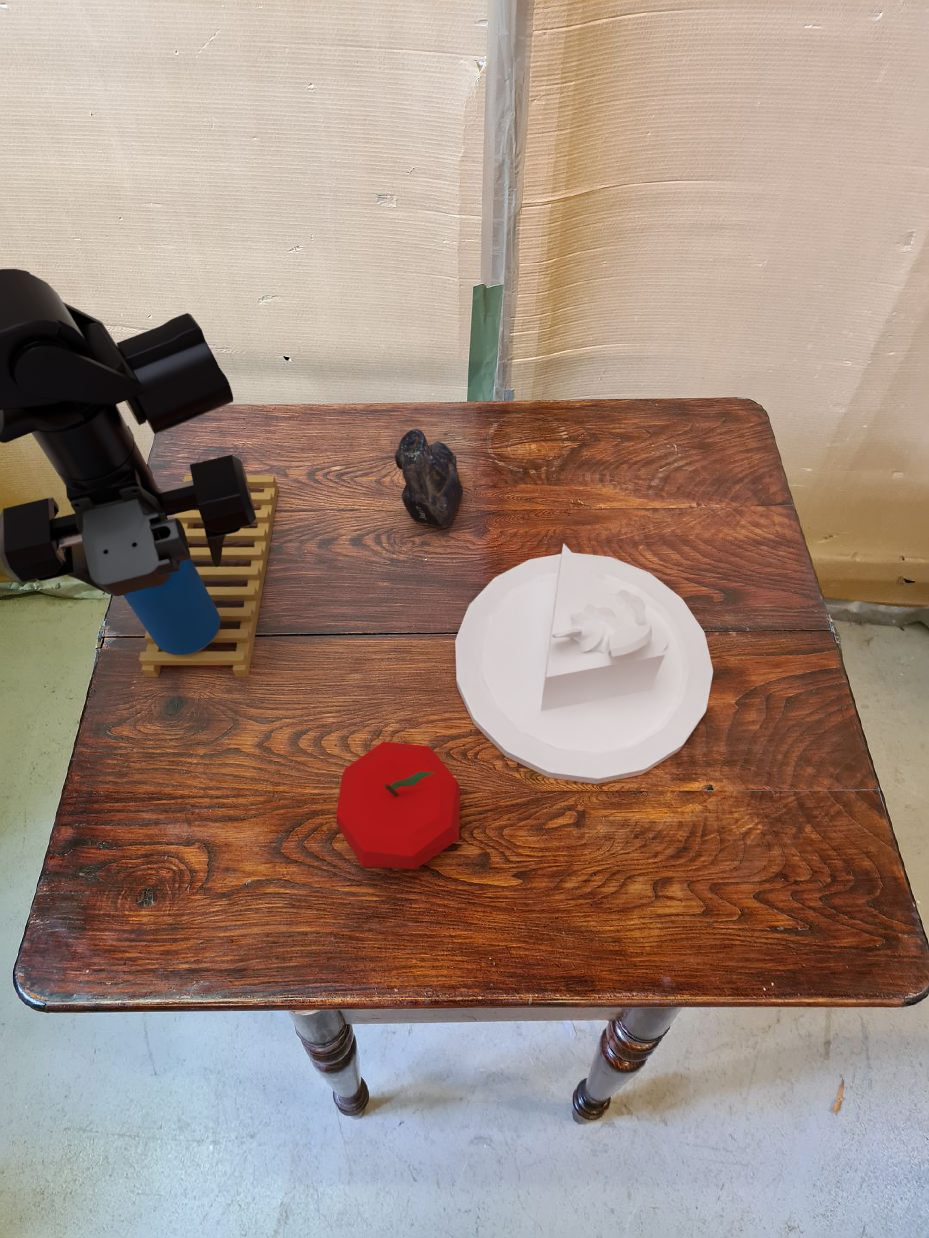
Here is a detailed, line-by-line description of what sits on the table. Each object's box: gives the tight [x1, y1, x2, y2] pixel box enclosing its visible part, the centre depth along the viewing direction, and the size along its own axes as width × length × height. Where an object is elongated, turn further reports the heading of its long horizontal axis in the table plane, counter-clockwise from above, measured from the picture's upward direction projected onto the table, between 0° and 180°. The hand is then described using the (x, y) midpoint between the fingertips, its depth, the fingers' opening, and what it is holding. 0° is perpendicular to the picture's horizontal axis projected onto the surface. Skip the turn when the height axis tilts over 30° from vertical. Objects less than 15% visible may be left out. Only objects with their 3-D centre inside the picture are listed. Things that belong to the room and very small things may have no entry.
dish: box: [454, 542, 714, 785], centre depth 73 cm, size 25×25×11 cm
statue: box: [394, 428, 464, 529], centre depth 82 cm, size 6×12×15 cm, turn 161°
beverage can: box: [122, 558, 221, 655], centre depth 72 cm, size 6×6×12 cm
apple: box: [335, 741, 462, 871], centre depth 66 cm, size 11×11×10 cm
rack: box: [138, 474, 280, 678], centre depth 83 cm, size 24×10×2 cm, turn 0°
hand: (165, 576), depth 70 cm, fingers open, 9 cm apart
